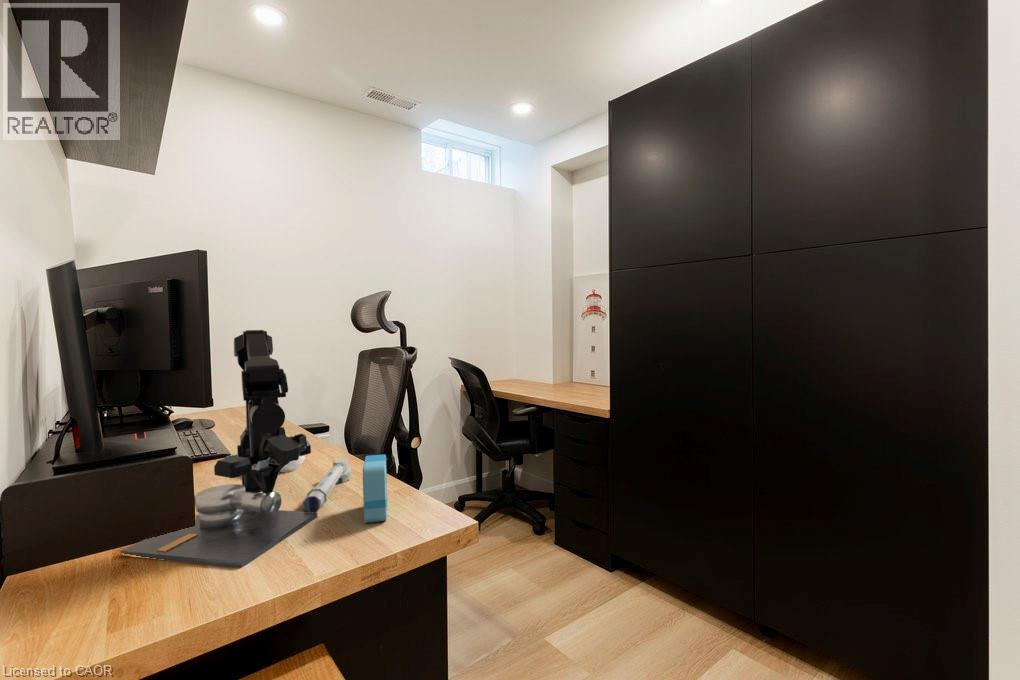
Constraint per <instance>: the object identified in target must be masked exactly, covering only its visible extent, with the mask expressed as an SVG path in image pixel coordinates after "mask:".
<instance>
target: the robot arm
mask: <svg viewBox="0 0 1020 680" xmlns="http://www.w3.org/2000/svg"><path fill="white" fill-rule="evenodd" d="M267 332H268V331H267V330H264V329H247V330H245V331H244V330H243V331H242V334H240V335H238V336H235V337H234V338H233V355H234V357H235V358H236V359H237V364H238V365H239V367H240V368H241V372H240V373H241V378H240V379H241V390H242V398H243V401H244V402H245V419H246V420H245V422H246V423H245V424H246V427H245V428H244V430H243V431H242V433H241V435H240V437H239V444H237V446H236V449H237V450H236V451H237V452H236V455H237V456H232V457H229V458H225V457H224V458H222V459H219V460H217V461H216V463H215V464H214V466H213V470H214V476H218V477H221V478H229V479H234V478H235V479H237V478H239V477H241V485H244V486H245V492H255V493H265V494H267V493H268V492H274V488H275V485H276V483H277V479H278V476H279V473H281V472H280V470H281V469H282V468H283V467H284V466H285V465H287V464H288V463H289V462H291V461H294V460H295V461H296V460H298V459H299V456H304V455H305V456H307V455H310V454H312V445H311V444H310V442H309V441H308V440H307V435H305V434H304V433H299V434H295V435H294V436H293V435H292V436H287V435H286V429H285V427H284V426H283V425H284V423H285V421H286V413H285V411H284V409H283V408H282V407H281V406H280V403H279V398H286V397H287V393H288V392H289V387H288V380H287V374H286V373H285V371H284V369H283V368H280V365H279V361H278V360H276V359H275V358H272V357H271V356H273V355H272V354H273V352H274V346H273V343H274V342H273V337H272V336H271V335H269V334H268V333H267Z"/></svg>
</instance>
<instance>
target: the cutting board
mask: <svg viewBox="0 0 1020 680" xmlns="http://www.w3.org/2000/svg"><path fill="white" fill-rule="evenodd" d="M195 516H196V524H195V526H193V527H189V528H185V529H181V530H178V531H175V532H170V533H167V534H164V535H160V536H157V537H152V538H149V537H148V538H149V539H147V538H145V539H142V540H141V541H139V542H136V543H135V544H132V545H130V546H127V547H126V548H124V549H121V550H120V551H119V552H120V554H121V553H124V554H130V555H136V556H141V557H149V558H156V559H164V560H163V561H166V560H170V561H169V562H176V561H178V563H187V564H198V565H206V566H207V565H209V566H219V567H228V568H229V567H230V568H237V569H239V568H240V569H242V568H244V567H245V566H246V565H248V564H249V563H251V562H252V561H255V559H257V558H258V557H260V556H261V555H263V554H265V553H266V552H267V551H269V550H270V549H272V548H274V547H275V546H277V545H278V544H279V543H281V542H283V541H285V539H286V540H287V538H289V537H290V536H291V535H293V534H294V533H296V532H298V531H299V530H301V529H302V528H303V527H305V526H307V525H308V524H310V523H312V522H313V521H314V520H317V518H318V512H314V511H310V512H308V511H296V510H295V511H294V510H280V509H279V510H278V511H277V512H276V513H275V514H274V515H271V516H269V515H264V514H262V512H257V511H248V510H239V509H232V510H228V511H224V512H219V513H211V514H203V513H198V514H197V515H195ZM156 559H155V560H156Z"/></svg>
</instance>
